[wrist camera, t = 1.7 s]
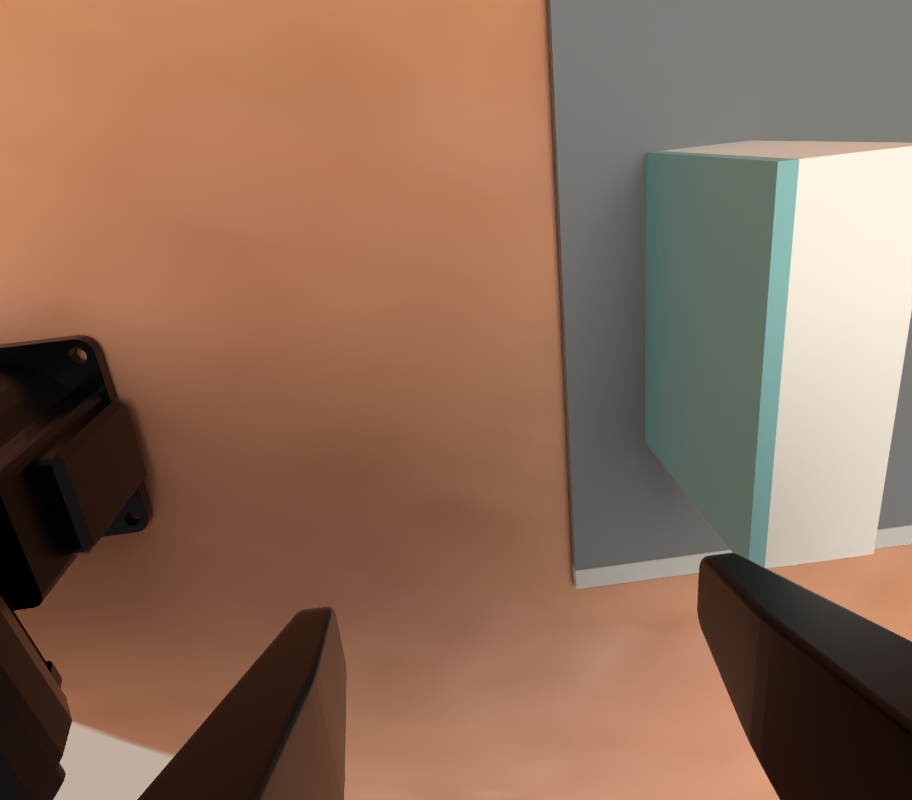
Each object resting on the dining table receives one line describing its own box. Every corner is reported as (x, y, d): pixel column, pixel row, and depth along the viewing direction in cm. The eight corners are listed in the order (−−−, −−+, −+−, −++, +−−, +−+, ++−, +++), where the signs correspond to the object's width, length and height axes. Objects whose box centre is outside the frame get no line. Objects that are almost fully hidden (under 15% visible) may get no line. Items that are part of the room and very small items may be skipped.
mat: (573, 581, 24) (576, 589, 24) (543, -69, 17) (547, -73, 16) (1048, 517, 25) (1058, 523, 24) (1223, -138, 17) (1243, -145, 17)
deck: (644, 442, 22) (747, 571, 15) (645, 152, 19) (777, 161, 12) (734, 430, 22) (873, 554, 16) (751, 140, 19) (937, 142, 12)
